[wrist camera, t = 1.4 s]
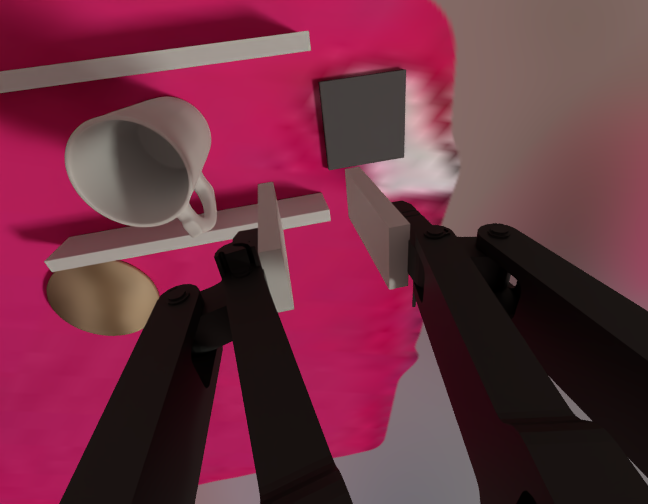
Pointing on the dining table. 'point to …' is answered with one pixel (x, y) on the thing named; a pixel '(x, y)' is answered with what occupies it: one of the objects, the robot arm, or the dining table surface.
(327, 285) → the dining table surface
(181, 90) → the dining table surface
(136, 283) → the coaster
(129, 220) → the mug
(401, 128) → the pad
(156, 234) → the channel
